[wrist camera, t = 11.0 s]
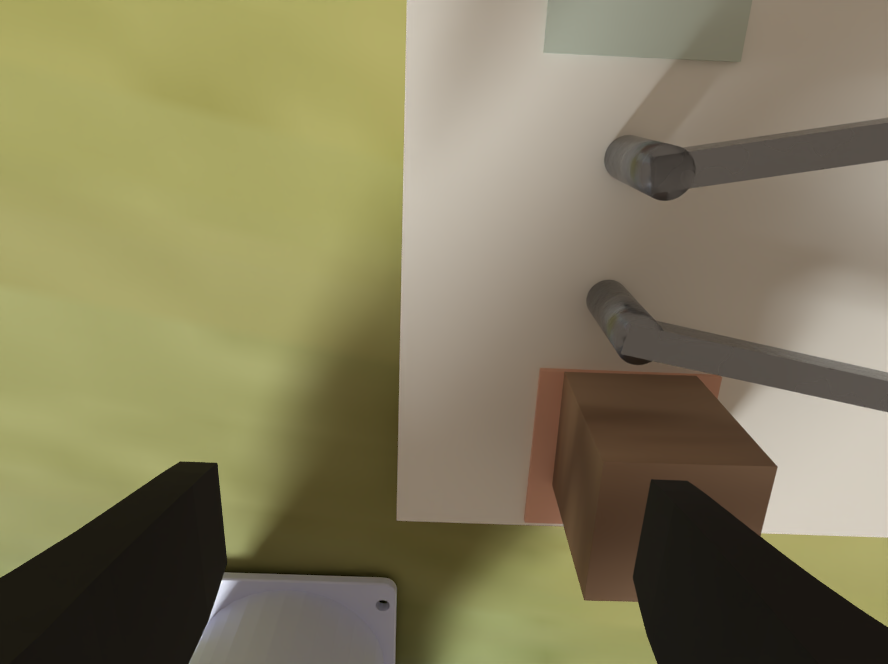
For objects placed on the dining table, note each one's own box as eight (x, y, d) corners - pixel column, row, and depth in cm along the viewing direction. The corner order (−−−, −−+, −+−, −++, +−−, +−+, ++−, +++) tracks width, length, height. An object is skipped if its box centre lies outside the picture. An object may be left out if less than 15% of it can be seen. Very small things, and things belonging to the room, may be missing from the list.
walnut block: (675, 488, 21) (743, 604, 16) (552, 485, 21) (584, 600, 16) (696, 375, 19) (777, 466, 15) (564, 371, 19) (603, 461, 15)
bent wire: (875, 373, 20) (962, 430, 16) (578, 361, 19) (605, 416, 16) (961, 93, 17) (1087, 93, 13) (614, 77, 17) (656, 74, 13)
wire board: (898, 511, 23) (932, 542, 22) (399, 494, 23) (396, 524, 21) (1123, -132, 16) (1196, -156, 15) (413, -170, 16) (410, -198, 14)
